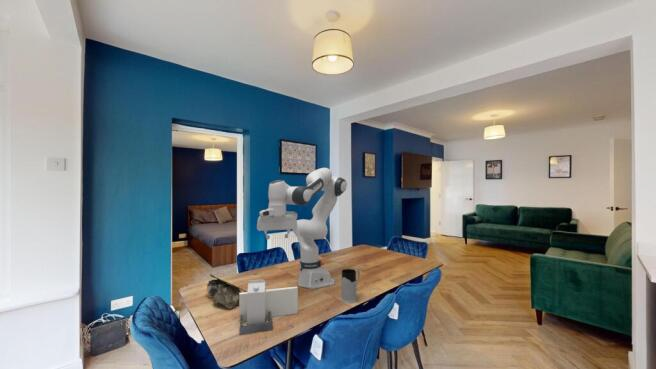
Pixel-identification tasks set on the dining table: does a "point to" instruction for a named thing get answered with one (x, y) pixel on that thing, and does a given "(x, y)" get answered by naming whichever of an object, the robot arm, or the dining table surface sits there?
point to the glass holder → (349, 285)
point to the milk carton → (256, 302)
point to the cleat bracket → (256, 326)
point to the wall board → (274, 302)
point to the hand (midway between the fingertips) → (277, 238)
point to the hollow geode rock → (224, 292)
